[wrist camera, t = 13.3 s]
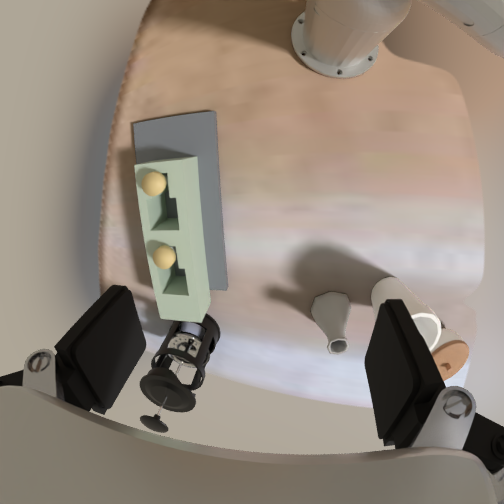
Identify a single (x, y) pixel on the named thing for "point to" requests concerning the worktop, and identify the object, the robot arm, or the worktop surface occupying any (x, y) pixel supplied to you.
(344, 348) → the flask
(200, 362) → the french press
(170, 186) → the pale green slotted holder
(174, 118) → the board
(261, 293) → the worktop surface
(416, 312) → the foam cup
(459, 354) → the lidded jar
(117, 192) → the worktop surface
